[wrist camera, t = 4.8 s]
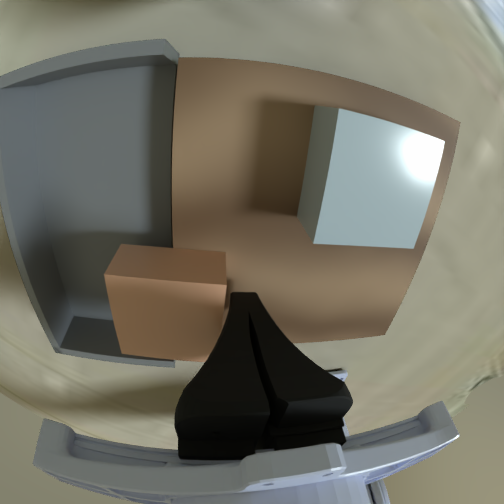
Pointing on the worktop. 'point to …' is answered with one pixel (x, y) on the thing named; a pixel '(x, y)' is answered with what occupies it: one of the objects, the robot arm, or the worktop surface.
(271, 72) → the walnut board
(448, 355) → the worktop surface
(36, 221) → the tray
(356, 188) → the pale blue block
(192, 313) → the terracotta tile
